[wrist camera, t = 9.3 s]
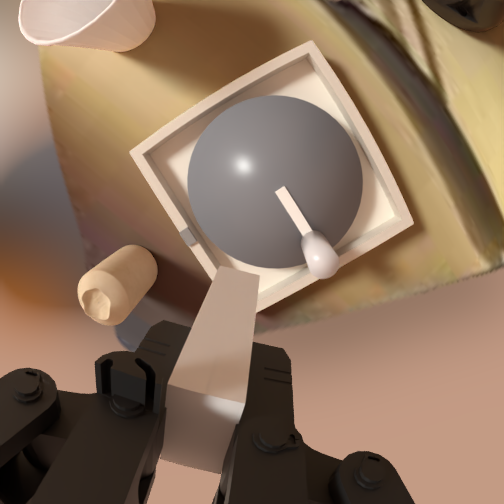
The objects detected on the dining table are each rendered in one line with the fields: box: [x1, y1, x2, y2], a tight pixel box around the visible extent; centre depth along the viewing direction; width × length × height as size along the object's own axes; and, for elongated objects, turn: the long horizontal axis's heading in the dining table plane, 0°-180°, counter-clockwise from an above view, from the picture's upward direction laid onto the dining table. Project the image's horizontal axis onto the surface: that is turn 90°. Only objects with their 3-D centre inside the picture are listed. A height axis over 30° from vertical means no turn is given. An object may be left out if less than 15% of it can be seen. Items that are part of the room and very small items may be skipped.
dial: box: [187, 95, 363, 279], centre depth 27 cm, size 16×16×8 cm
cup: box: [18, 0, 156, 52], centre depth 21 cm, size 12×12×12 cm
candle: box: [78, 245, 158, 326], centre depth 30 cm, size 6×6×10 cm
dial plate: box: [129, 40, 414, 313], centre depth 30 cm, size 20×20×4 cm
